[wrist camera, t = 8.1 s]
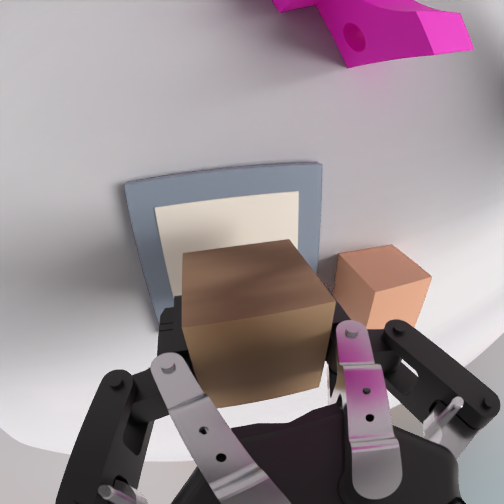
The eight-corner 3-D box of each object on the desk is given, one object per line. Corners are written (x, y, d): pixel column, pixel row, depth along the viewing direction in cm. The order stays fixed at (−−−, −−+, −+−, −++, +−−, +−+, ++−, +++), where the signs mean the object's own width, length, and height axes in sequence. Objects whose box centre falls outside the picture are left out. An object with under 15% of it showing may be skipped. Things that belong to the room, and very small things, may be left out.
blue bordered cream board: (316, 161, 16) (323, 164, 15) (308, 308, 21) (313, 316, 20) (127, 181, 14) (123, 185, 13) (164, 331, 19) (164, 340, 18)
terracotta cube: (391, 244, 20) (432, 276, 16) (380, 295, 22) (412, 331, 18) (337, 252, 19) (375, 292, 15) (330, 307, 21) (359, 350, 17)
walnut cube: (289, 238, 13) (336, 301, 9) (286, 318, 15) (318, 386, 11) (182, 253, 12) (181, 327, 8) (198, 333, 15) (207, 409, 10)
